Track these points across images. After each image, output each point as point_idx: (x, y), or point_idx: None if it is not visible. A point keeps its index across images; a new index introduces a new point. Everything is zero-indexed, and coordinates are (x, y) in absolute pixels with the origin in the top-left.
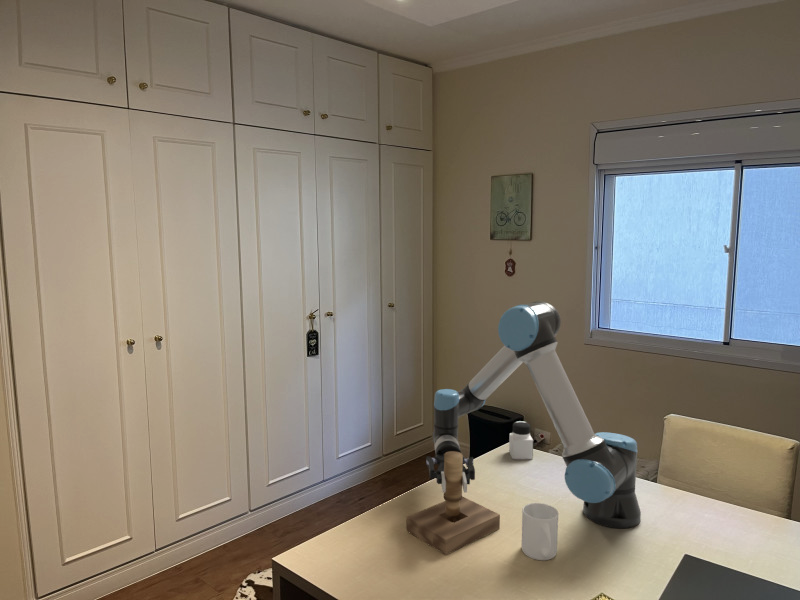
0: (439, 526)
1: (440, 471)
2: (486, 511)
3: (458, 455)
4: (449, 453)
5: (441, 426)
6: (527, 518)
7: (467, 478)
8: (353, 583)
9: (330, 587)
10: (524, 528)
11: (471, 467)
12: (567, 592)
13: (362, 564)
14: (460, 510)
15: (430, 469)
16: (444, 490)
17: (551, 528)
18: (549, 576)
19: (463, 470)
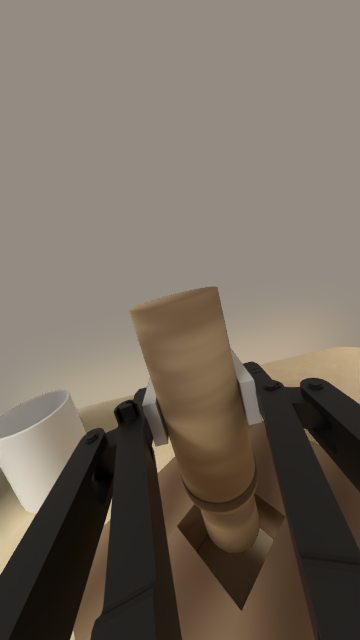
0: (254, 444)
1: (260, 385)
2: (96, 596)
3: (151, 303)
4: (192, 295)
5: None
6: (71, 398)
7: (144, 391)
8: (328, 358)
9: (348, 349)
10: (79, 421)
11: (73, 476)
12: (95, 404)
13: (355, 381)
14: (205, 586)
15: (328, 385)
16: None
17: (45, 410)
18: (95, 422)
19: (141, 424)
